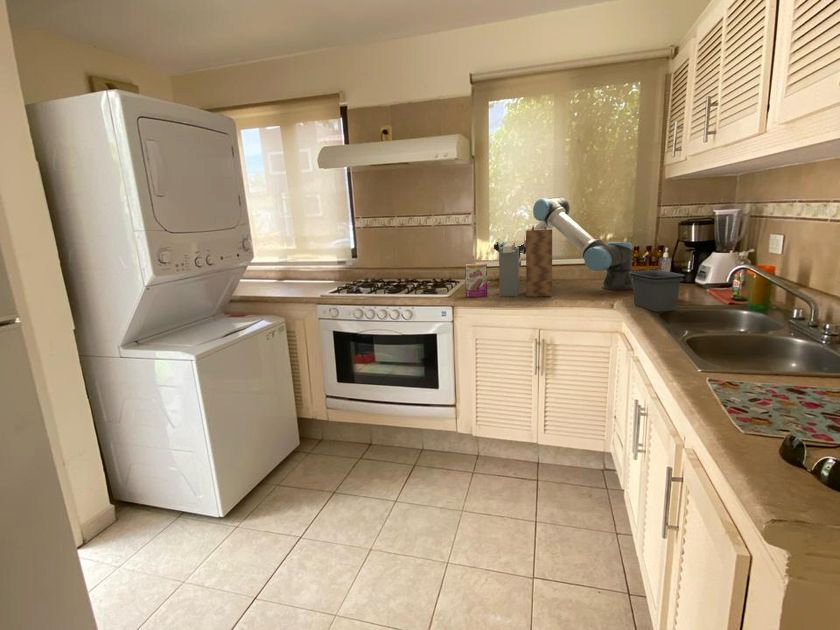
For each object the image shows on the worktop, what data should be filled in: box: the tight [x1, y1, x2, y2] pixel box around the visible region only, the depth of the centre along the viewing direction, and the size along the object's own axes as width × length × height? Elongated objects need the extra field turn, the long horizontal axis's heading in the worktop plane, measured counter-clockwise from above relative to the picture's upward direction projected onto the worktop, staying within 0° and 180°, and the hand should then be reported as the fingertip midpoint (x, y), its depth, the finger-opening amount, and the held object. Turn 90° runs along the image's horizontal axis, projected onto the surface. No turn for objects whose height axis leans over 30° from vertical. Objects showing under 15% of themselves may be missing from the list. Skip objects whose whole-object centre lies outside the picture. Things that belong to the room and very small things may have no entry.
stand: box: [525, 225, 553, 298], centre depth 224 cm, size 12×12×34 cm
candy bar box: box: [464, 263, 488, 298], centre depth 231 cm, size 11×5×16 cm, turn 84°
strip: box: [503, 242, 515, 253], centre depth 230 cm, size 4×22×3 cm, turn 165°
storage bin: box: [629, 269, 685, 313], centre depth 184 cm, size 21×16×14 cm
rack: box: [498, 246, 520, 297], centre depth 232 cm, size 9×12×24 cm
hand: (511, 239), depth 245 cm, fingers open, 13 cm apart
